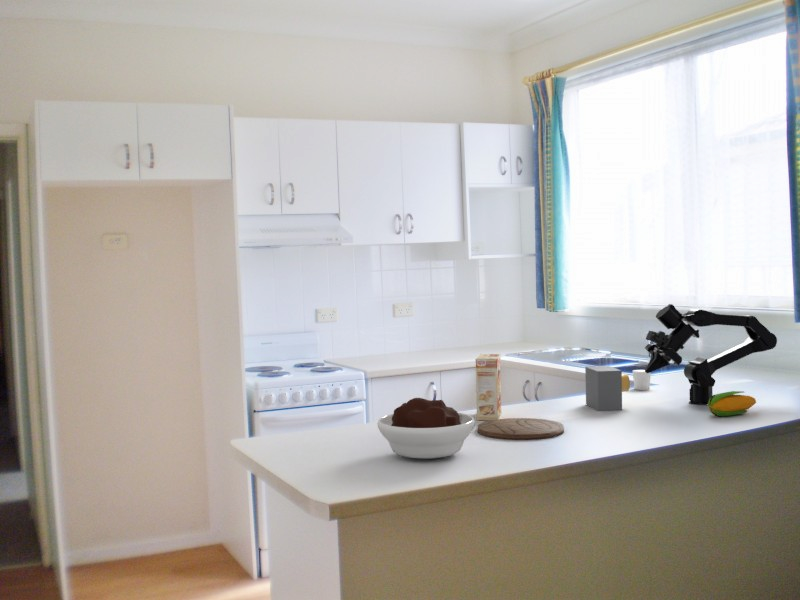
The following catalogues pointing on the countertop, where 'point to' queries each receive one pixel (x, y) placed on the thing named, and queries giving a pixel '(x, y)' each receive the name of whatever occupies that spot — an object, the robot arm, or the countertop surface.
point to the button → (625, 383)
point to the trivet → (520, 429)
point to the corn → (730, 403)
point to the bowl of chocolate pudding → (426, 429)
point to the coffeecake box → (488, 386)
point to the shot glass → (641, 379)
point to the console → (604, 388)
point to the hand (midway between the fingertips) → (646, 372)
